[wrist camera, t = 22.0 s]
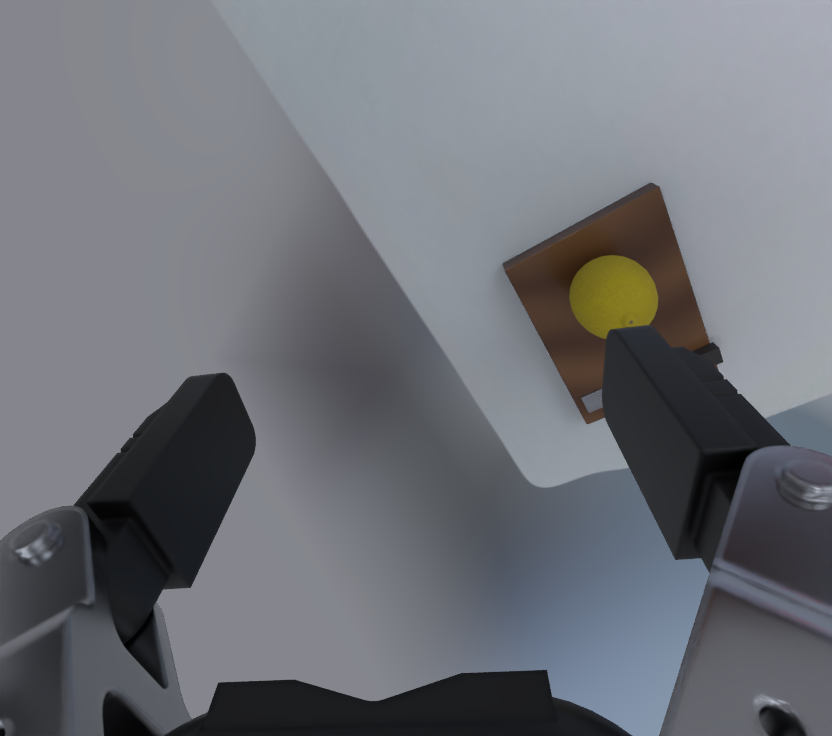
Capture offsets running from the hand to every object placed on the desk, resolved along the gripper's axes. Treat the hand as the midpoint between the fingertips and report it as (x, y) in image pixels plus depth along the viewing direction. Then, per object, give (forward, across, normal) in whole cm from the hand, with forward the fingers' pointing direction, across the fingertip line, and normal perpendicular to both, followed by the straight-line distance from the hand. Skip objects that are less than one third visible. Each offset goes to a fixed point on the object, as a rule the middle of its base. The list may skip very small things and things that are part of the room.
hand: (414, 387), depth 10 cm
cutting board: (+28, -14, +14) cm, 34 cm away
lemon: (+27, -12, +10) cm, 31 cm away
